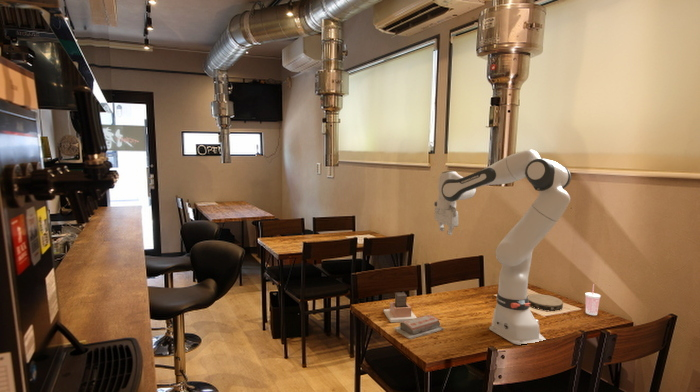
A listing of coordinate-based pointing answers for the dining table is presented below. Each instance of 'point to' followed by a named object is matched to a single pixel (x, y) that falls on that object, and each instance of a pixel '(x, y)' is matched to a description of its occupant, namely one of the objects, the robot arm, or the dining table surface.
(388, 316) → the square socket base
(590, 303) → the beverage cup
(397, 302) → the peg
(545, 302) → the grey round disc
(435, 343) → the dining table surface
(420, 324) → the packaged product
